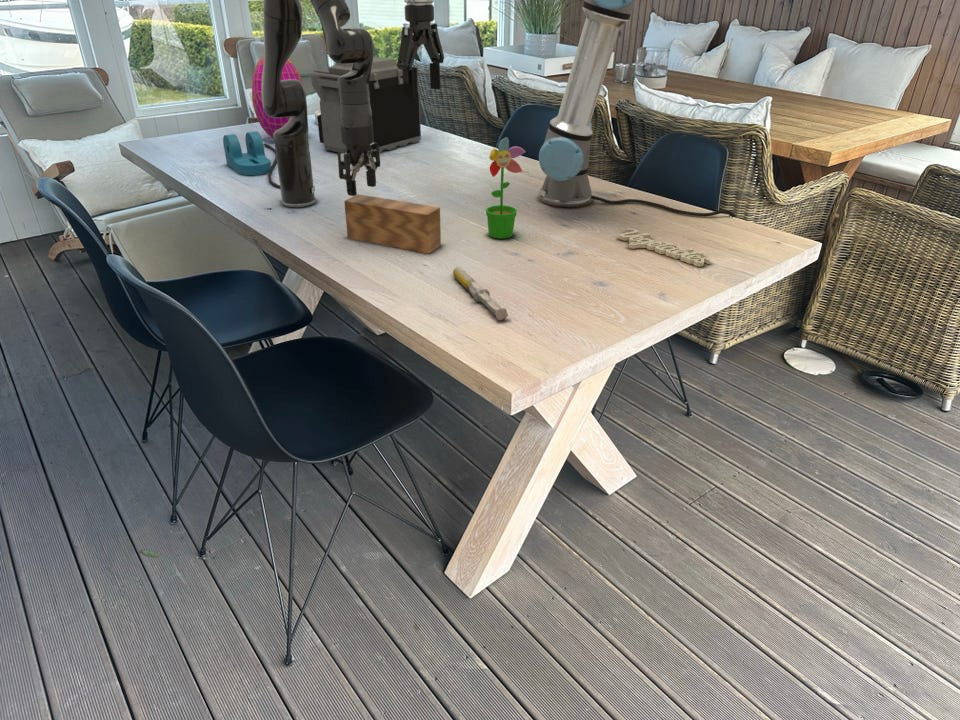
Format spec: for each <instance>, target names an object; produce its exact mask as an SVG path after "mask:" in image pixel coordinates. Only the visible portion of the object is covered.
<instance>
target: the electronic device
mask: <svg viewBox="0 0 960 720" xmlns="http://www.w3.org/2000/svg"><path fill="white" fill-rule="evenodd" d="M352 64H353V63H348V64H338V63H336V62H334V64H333V65H330V66H329V67H328V72H327V71H320V70H314V71H313V70H312V71H310V79H311V87H313V90H314V91H315V93H316V94H317V96H318V98H319V110H320V111H321V115H319V116H318V117H317V120H318V125H317V128H318V138H319V143H320V144H323V146H324V149H325V150H327V151H330V152H335V153H346V149H347V147H346V145H345V144H343V143H342V136H341V125H340V114H339V109H340V102H339V91H338V79H339V77H341V76H342V75H345V74H347V73H349V72H350V71H351V68H352ZM411 70H413V71H414V92H415V97H407V96H404V82H403V70H400V69H399V68H398V67H397V63H396V62H395V60H394V59H393V58H385V57H377V56H373V62H372V67H371V73H370V79H369V95H370V106H371V110H372V121H373V135H374V142H373V143H378V145H379V154H381V153H382V152H383V151H391V150H395V149H396V148H397V147H405V146H407V145H408V144H416V143H418V142H419V141H421V137H422V128H421V97H420V92H419V91H420V89H419V68H418V67H417V66H412V68H411Z"/></svg>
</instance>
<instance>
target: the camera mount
mask: <svg viewBox="0 0 960 720" xmlns="http://www.w3.org/2000/svg"><path fill="white" fill-rule="evenodd" d="M222 140H223V141H222V143H223V149H224V150H223V151H224V156H225V161H226V165H227V166H228V167H230V168H231V169H232V170H234V171H236V172H237V173H238V174H239V175H244V176H260V175H265V174H268V173H269V170H270V169H271V166H272V164H271V159H270V158H268V157H267V156H266V153H265V145H264V141H263V139H262V136H261V134H260V132H258V131H247V132H246V133H245V146H246V152H243V151H242V150H243V149H242V146H241V142H240V140H239V138H238V135H236V134H235V133H231V134H224V135H223V138H222Z"/></svg>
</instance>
